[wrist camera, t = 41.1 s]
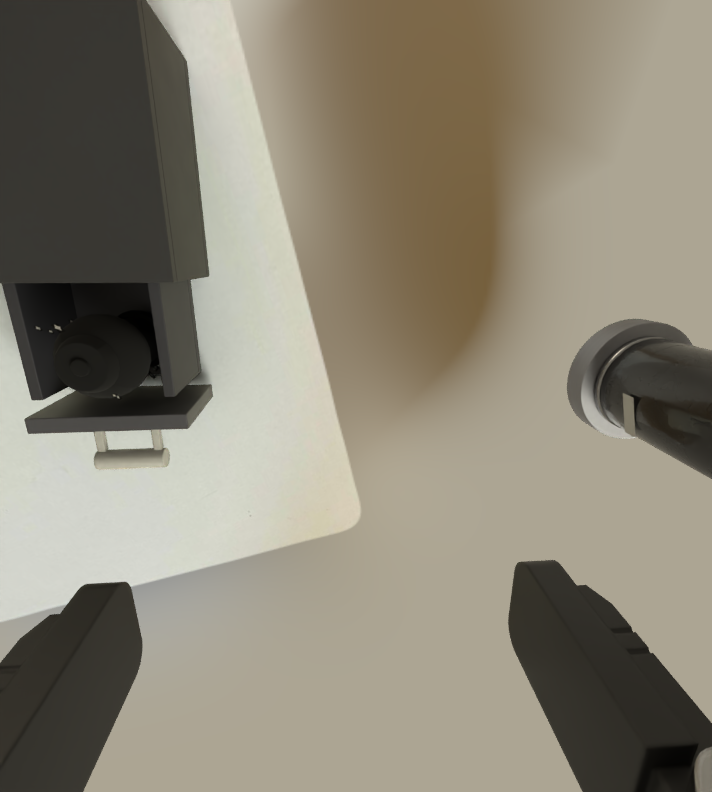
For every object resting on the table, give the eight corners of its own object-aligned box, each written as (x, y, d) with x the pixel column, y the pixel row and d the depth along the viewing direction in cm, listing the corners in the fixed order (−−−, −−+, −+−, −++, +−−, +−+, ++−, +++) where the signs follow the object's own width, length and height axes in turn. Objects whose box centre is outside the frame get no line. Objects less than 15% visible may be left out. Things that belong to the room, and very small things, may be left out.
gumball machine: (84, 333, 35) (-2, 361, 26) (129, 282, 34) (58, 292, 25) (149, 387, 37) (92, 432, 28) (194, 341, 36) (151, 371, 27)
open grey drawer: (218, 440, 40) (195, 480, 33) (93, 444, 39) (41, 487, 32) (194, 228, 34) (160, 220, 27) (47, 227, 33) (-30, 219, 26)
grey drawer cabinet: (209, 276, 36) (173, 282, 27) (56, 277, 35) (-34, 283, 26) (187, 61, 32) (133, -19, 22) (8, 54, 31) (-123, -32, 21)
